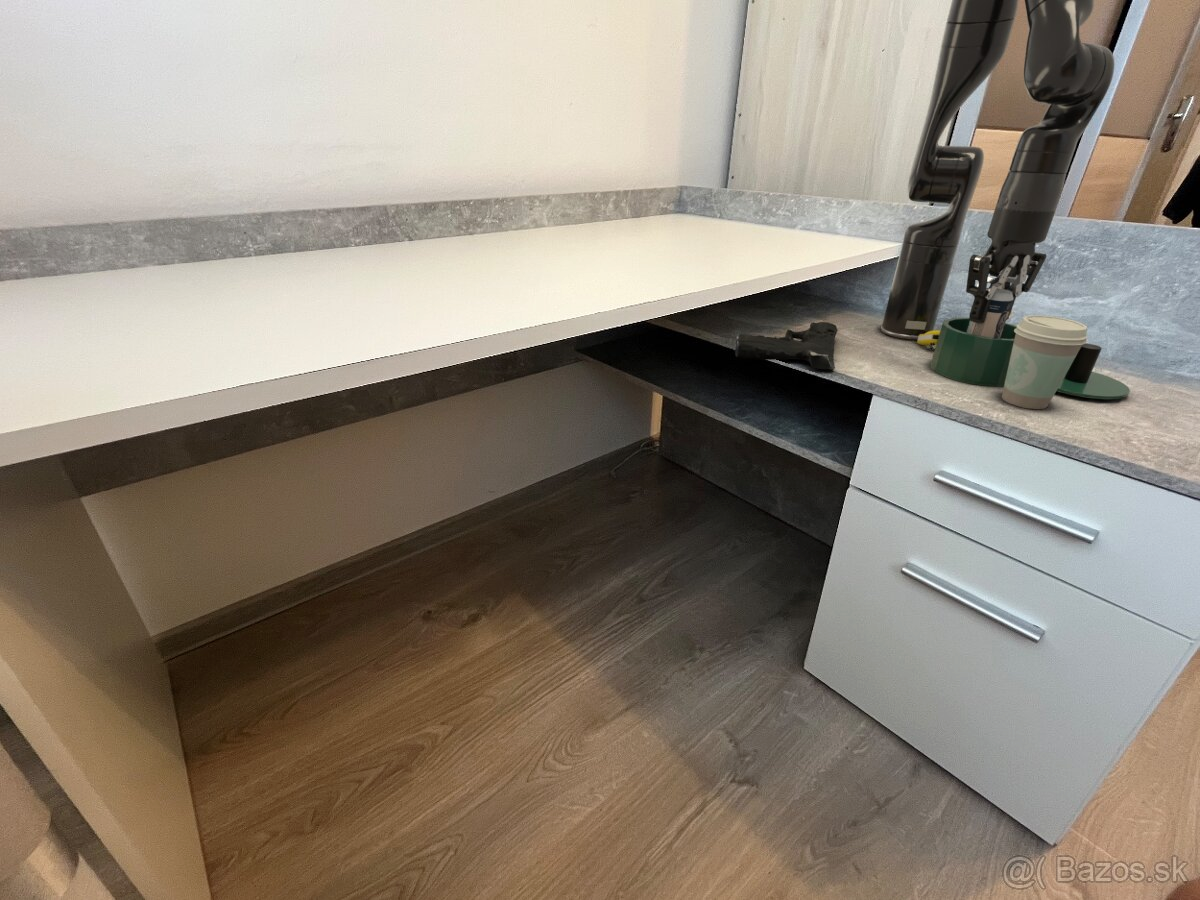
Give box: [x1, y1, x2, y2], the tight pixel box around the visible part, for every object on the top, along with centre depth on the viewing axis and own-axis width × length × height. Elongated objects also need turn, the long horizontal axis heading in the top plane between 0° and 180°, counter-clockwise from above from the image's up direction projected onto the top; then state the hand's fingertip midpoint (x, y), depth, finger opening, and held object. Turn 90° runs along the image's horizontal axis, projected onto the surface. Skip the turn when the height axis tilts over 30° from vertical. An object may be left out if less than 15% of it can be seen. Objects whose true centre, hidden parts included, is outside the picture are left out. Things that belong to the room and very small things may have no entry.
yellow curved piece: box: [916, 329, 941, 350], centre depth 110 cm, size 10×6×4 cm, turn 71°
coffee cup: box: [1001, 314, 1088, 410], centre depth 86 cm, size 8×8×12 cm
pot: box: [930, 317, 1017, 387], centre depth 98 cm, size 13×13×8 cm
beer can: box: [966, 287, 1013, 338], centre depth 96 cm, size 5×5×12 cm
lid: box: [1056, 342, 1131, 400], centre depth 94 cm, size 14×14×7 cm
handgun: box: [734, 321, 839, 370], centre depth 108 cm, size 21×17×4 cm
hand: (988, 320), depth 96 cm, fingers closed on beer can, 4 cm apart
